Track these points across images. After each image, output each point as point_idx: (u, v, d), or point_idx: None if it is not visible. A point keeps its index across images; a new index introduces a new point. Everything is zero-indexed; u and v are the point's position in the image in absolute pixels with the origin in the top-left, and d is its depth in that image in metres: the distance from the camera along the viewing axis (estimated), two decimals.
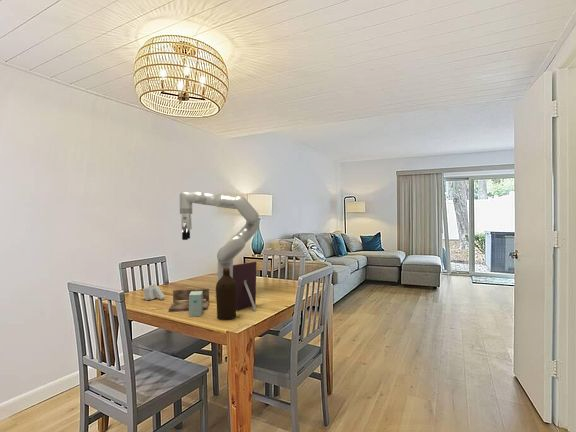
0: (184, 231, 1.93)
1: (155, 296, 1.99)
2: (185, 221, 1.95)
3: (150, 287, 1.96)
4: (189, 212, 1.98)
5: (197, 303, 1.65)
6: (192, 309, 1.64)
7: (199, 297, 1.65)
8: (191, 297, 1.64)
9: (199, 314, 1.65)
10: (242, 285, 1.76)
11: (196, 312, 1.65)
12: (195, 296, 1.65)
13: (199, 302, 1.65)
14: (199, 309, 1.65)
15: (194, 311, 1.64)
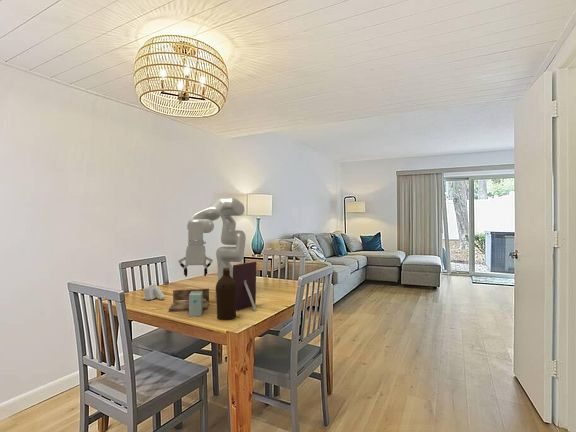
0: (209, 265, 1.69)
1: (155, 296, 1.99)
2: (205, 254, 1.69)
3: (150, 287, 1.96)
4: None
5: (197, 303, 1.65)
6: (192, 309, 1.64)
7: (199, 297, 1.65)
8: (191, 297, 1.64)
9: (199, 314, 1.65)
10: (242, 285, 1.76)
11: (196, 312, 1.65)
12: (195, 296, 1.65)
13: (199, 302, 1.65)
14: (199, 309, 1.65)
15: (194, 311, 1.64)
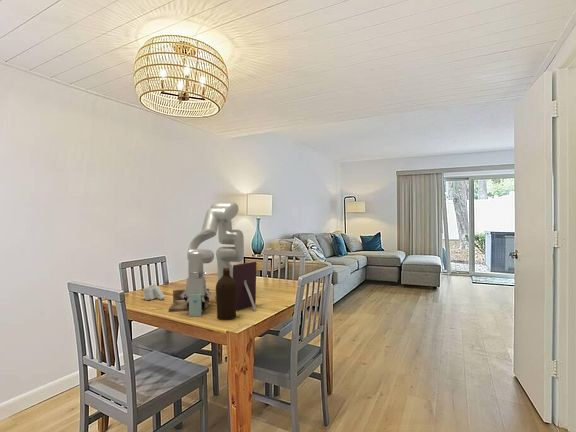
0: (206, 298, 1.69)
1: (155, 296, 1.99)
2: (205, 285, 1.70)
3: (150, 287, 1.96)
4: None
5: (197, 303, 1.65)
6: (192, 309, 1.64)
7: (199, 297, 1.65)
8: (191, 297, 1.64)
9: (199, 314, 1.65)
10: (242, 285, 1.76)
11: (196, 312, 1.65)
12: (195, 296, 1.65)
13: (199, 302, 1.65)
14: (199, 309, 1.65)
15: (194, 311, 1.64)
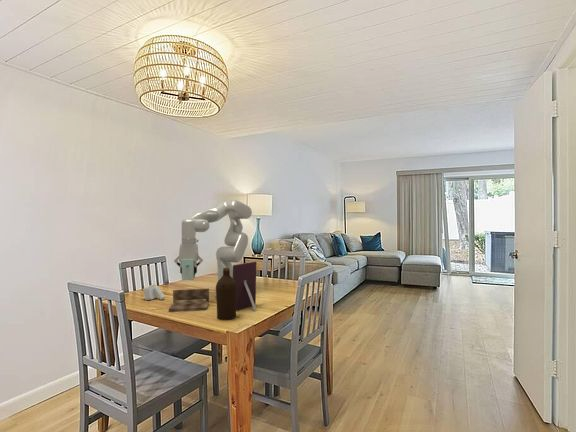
0: (198, 264, 1.79)
1: (155, 296, 1.99)
2: None
3: (150, 287, 1.96)
4: None
5: (189, 268, 1.74)
6: (185, 273, 1.74)
7: (191, 262, 1.74)
8: (184, 262, 1.73)
9: (191, 278, 1.74)
10: (242, 285, 1.76)
11: (188, 276, 1.74)
12: (188, 261, 1.74)
13: (191, 267, 1.74)
14: (191, 273, 1.74)
15: (186, 275, 1.74)
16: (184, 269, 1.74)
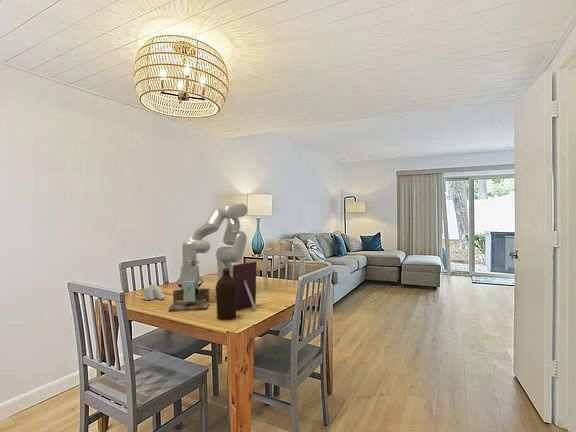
0: (200, 285, 1.81)
1: (155, 296, 1.99)
2: None
3: (150, 287, 1.96)
4: None
5: (191, 289, 1.77)
6: (186, 295, 1.76)
7: (193, 284, 1.77)
8: (185, 284, 1.76)
9: (193, 300, 1.77)
10: (242, 285, 1.76)
11: (190, 298, 1.77)
12: (189, 283, 1.76)
13: (193, 288, 1.77)
14: (193, 295, 1.77)
15: (188, 297, 1.76)
16: (186, 291, 1.76)
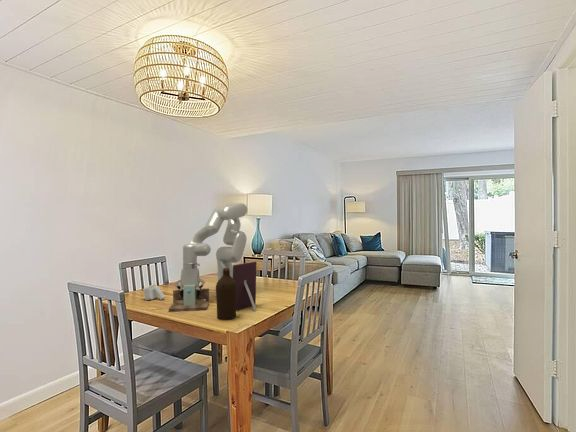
0: (201, 287, 1.83)
1: (155, 296, 1.99)
2: None
3: (150, 287, 1.96)
4: None
5: (191, 294, 1.78)
6: (187, 299, 1.78)
7: (193, 288, 1.78)
8: (185, 288, 1.77)
9: (193, 304, 1.78)
10: (242, 285, 1.76)
11: (190, 302, 1.78)
12: (189, 288, 1.78)
13: (193, 293, 1.78)
14: (193, 299, 1.78)
15: (188, 301, 1.78)
16: (186, 295, 1.77)
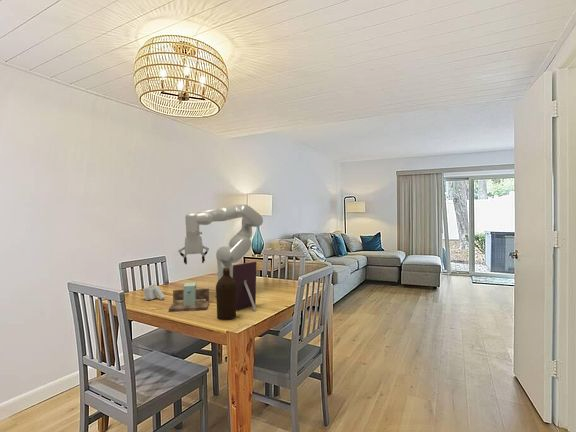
0: (206, 253, 1.90)
1: (155, 296, 1.99)
2: None
3: (150, 287, 1.96)
4: None
5: (191, 294, 1.78)
6: (187, 299, 1.78)
7: (193, 288, 1.78)
8: (185, 288, 1.77)
9: (193, 304, 1.78)
10: (242, 285, 1.76)
11: (190, 302, 1.78)
12: (189, 288, 1.78)
13: (193, 293, 1.78)
14: (193, 299, 1.78)
15: (188, 301, 1.78)
16: (186, 295, 1.77)
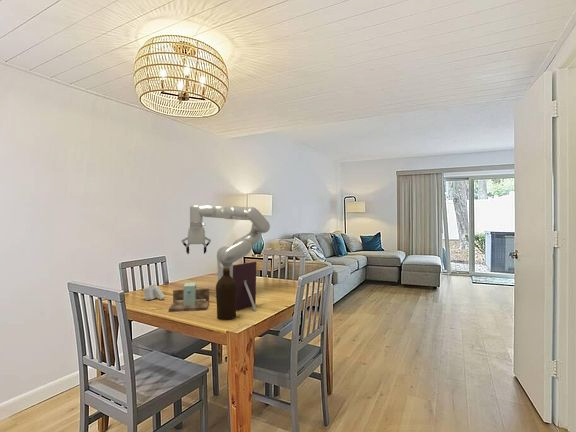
0: (208, 244, 1.97)
1: (155, 296, 1.99)
2: (204, 235, 1.97)
3: (150, 287, 1.96)
4: None
5: (191, 294, 1.78)
6: (187, 299, 1.78)
7: (193, 288, 1.78)
8: (185, 288, 1.77)
9: (193, 304, 1.78)
10: (242, 285, 1.76)
11: (190, 302, 1.78)
12: (189, 288, 1.78)
13: (193, 293, 1.78)
14: (193, 299, 1.78)
15: (188, 301, 1.78)
16: (186, 295, 1.77)
